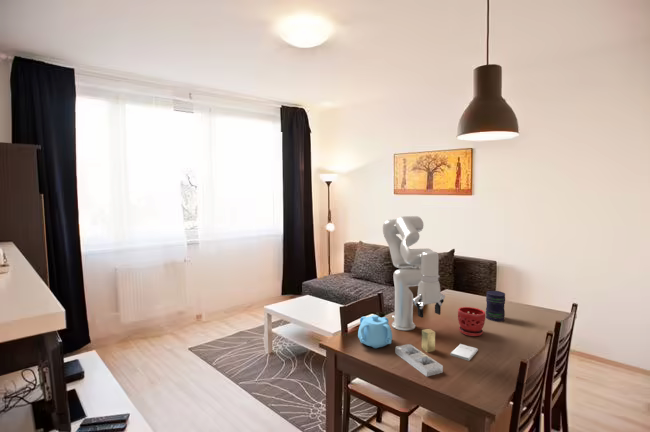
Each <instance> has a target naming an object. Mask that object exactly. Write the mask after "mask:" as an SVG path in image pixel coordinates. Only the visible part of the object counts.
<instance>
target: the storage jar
mask: <svg viewBox="0 0 650 432" xmlns="http://www.w3.org/2000/svg"><path fill="white" fill-rule="evenodd" d="M485 301H486V306H485V319H487V320H489V321H492V322H498V323H499V322H503V321H505V315H506V312H505V304H506V293H505V292H503V291H499V290H487V291H486V296H485Z"/></svg>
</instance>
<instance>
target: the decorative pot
mask: <svg viewBox="0 0 650 432" xmlns="http://www.w3.org/2000/svg"><path fill="white" fill-rule="evenodd" d="M358 327H359V328H358V331H357V337H358V339H359V341H360V343H361V344H364V345H366V346H369V347H372V348H373V349H379V348H383V347H385V346H387V345H391V344H392V340H393V332H392V328H391V326H390V324H389V318H388V317H386V316H383V317H380V316H379V315H377V314H373V315H369V316H368V317H367V316H361V317H360V319H359V326H358Z"/></svg>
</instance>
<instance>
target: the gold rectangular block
mask: <svg viewBox="0 0 650 432" xmlns="http://www.w3.org/2000/svg"><path fill="white" fill-rule="evenodd" d="M421 350H422V351H424V352H426V353H432V352H435V350H436V331H435V330H432V329H431V328H424V329H421Z"/></svg>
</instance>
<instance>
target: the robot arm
mask: <svg viewBox="0 0 650 432" xmlns="http://www.w3.org/2000/svg"><path fill="white" fill-rule="evenodd" d="M423 229H424V221H423V220H422V218H421V217H420V216H417V215H414V216H413V215H412V216H411V215H410V216H401V217H398V218H396V219H395V218H394V219H388V220H386V221H385V220H384V222H383V224H382V233H383V237H384V239H385V241H386V243H387V245H388V249H389V253H390V258H391V262H392V265H393V266H394V267H395V268H398V269H396V270H394V272H393V276H392V277H393V284H394V315H392V316H391V318H392V319H394V320H393V321H392V322H391V327H392V328H393V329H396V330H398V331H412V330H414V329H415V328H416V323H414V322H413V315H414V314H413V313H414V311H413V310H414V306H415V307H416V308H417V316H418V317H420V318H422V319H423V318H424V306H425V305H431V304H434V314H436V315H441V309H442V306H443V303H444V300H445V298H446V295H445V294H442V293H441V284H440V281H439V279H440V275H439V253H438V252H436V251H433V249H431V248H409V247H411V246H413V245H414V244H415V245H416V243H418V241H419V240H420V236H421V235H420V232H422V231H423ZM398 235H400V237H401V238H400V237H399V236H398ZM410 287H417V296H416V297H414V294H413V292H412V290H411V289H410Z"/></svg>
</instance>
